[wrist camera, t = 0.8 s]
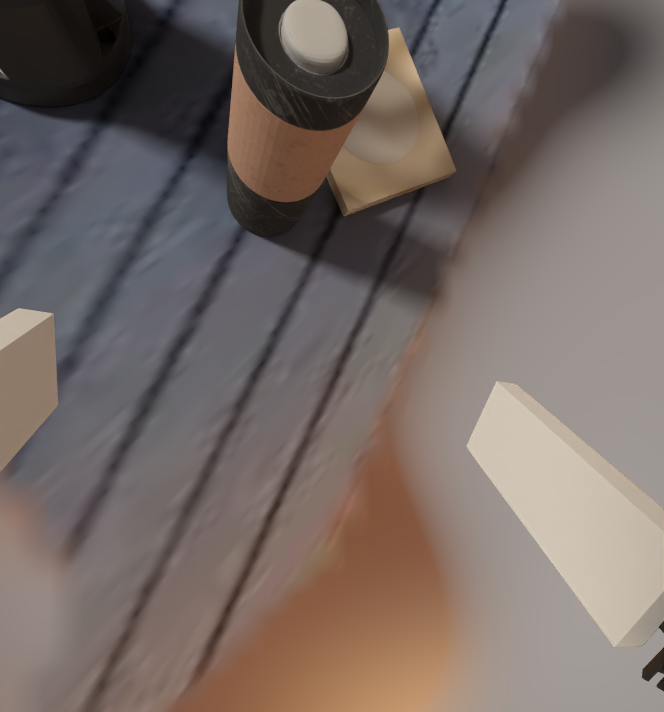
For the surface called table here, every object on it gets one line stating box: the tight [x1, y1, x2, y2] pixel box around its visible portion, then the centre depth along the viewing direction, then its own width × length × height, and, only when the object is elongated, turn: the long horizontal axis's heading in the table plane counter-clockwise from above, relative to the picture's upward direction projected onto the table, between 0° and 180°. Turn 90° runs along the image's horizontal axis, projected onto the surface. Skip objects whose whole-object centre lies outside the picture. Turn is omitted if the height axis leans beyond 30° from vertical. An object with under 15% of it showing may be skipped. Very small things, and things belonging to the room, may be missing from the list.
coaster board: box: [326, 28, 457, 217], centre depth 40 cm, size 16×14×2 cm
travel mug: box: [227, 0, 389, 236], centre depth 28 cm, size 8×8×20 cm
